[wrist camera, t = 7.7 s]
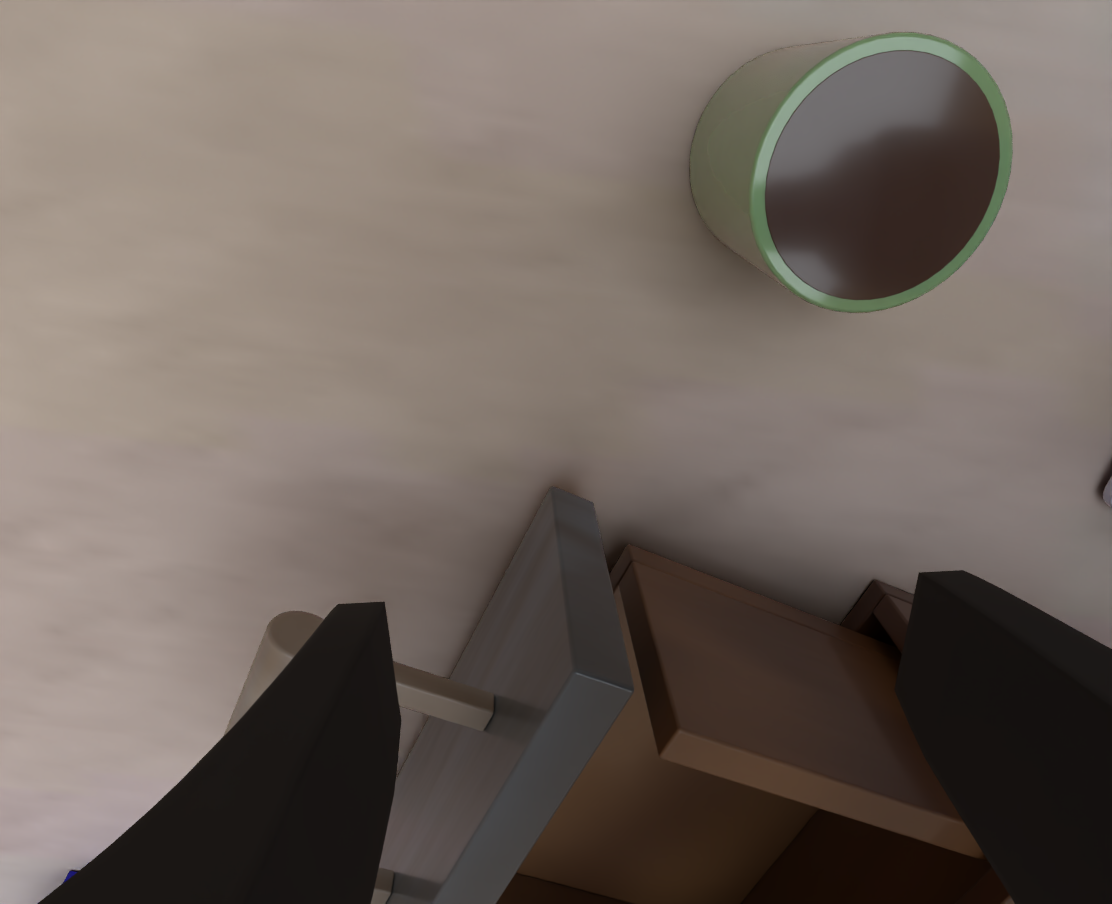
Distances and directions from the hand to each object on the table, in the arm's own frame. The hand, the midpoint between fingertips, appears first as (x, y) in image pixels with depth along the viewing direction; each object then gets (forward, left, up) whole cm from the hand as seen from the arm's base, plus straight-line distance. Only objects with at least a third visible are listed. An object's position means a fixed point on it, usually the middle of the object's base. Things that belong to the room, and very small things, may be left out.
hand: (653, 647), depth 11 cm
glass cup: (-6, +3, -9) cm, 12 cm away
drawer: (+9, +1, -9) cm, 13 cm away
